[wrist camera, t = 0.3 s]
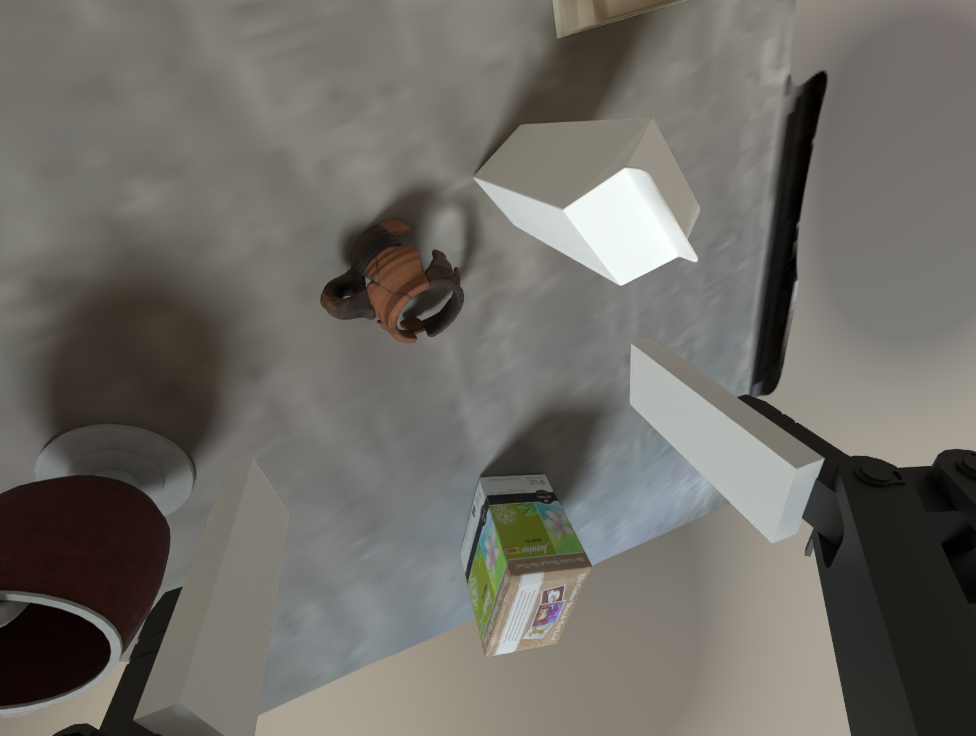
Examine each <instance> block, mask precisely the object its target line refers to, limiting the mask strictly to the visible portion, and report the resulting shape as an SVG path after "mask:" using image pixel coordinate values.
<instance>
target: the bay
mask: <svg viewBox="0 0 976 736" xmlns="http://www.w3.org/2000/svg"><path fill="white" fill-rule="evenodd" d="M683 1H687V0H552V2H553V10H554V18H555V26H556V34H557V39H558V38H562V37H565V36H568V35H572V34H575V33H579V32H582V31H585V30H589V29H592V28H595V27H599V26H602V25H606V24H609V23H612V22H616V21H619V20H623V19H626V18H629V17H633V16H636V15H639V14H643V13H646V12H650V11H653V10H656V9H660V8H663V7H667V6H670V5H673V4H677V3H680V2H683Z"/></svg>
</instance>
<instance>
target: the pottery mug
mask: <svg viewBox="0 0 976 736" xmlns="http://www.w3.org/2000/svg"><path fill="white" fill-rule="evenodd" d="M410 233H411V229H410V227H409V226H407V225H406V224H405V223H403V222H402V221H400V220H390V221H385V222H382V223H380V224H378V225H375V226H373V227H371V228H370V229H369V230H367V231H366V232H365V233H364V234H363V235H362V236H361V237H360V238H359V239H358V240H357V242H356V244H355V247H354V249H353V252H352V266H351V269H349V270H348V271H347V272H346V273H345V274H343V275H341V276H339V277H337V278H335V279H333V280H331V281H330V282H329V283H328V284H327V285H326V286H325V288H324V290H323V292H322V294H321V300H320V303H321V305H322V307H323V308H325V309H326V310H327V312H328V313H329V314H330V315H331V316H333V317H335V318H337V319H342V320H350V319H354V318H366V319H369V320H373V319H375V317H376V315H377V317H378V318H379V319H380V320H378V321H377V324H378V325H379V326H380V327H381V328H383V329H385V330H386V331H388V332H389V333H390V334H391V335H392V337H393V338H394V339H396V340H398V341H400V342H404V343H414V342H416V340H417V337H416V335H415V334H418V333H421V332H423V331H426V332H427V335H428V337H434V336H436V335H437V334H439V333H440V332H442V331H443V330H444V329H446V328H447V327H448V326H449V325H450V324H451V323H452V322H453V321H454V319H455V318H456V317H457V315H458V313H459V312H460V310H461V308H462V305H463V302H464V293H463V289H462V288H461V287H460V275H459V270H458V268H457V267H455V268H454V274H453V270H452V267H451V264H450V263H449V262H448V261H447V259H446V256H445V254H444V253H442V252H440V251H438V250H433V251H432V255H433V260H432V261H431V264H430V265H429V267H428V268H427V269H426V271H425V272H424V271H423V266H422V263H421V258H420V254H419V251H418V250H416V249H415V248H414V247H412V246H410V245H405V246H402V244H401V243H400V242H399V241H398V240H397V239H395V238H394V236H398V235H404V234H410ZM365 276H366V277H367V278H369V279H370V280H371V282H370V283H369V284H368V285H367V287H366V283H365ZM433 287H447V288H450V289H451V290H452V291H453V294H452V297H451V298H450V299H449V300H448V302H447V303H446V305H445V306H444V307H443V308H442V309H441V311H440V312H438V313H437V314H435V315H433V316H431V317H429V318H427V319H424V320H423V321H421V320H419V319H418V318H416V317H414V316H409V317H407V318H405V319H404V320H402V321H401V322H400V325H401V327H402V328H403V329H405V330H399V329H398V327H397V325H396V324H397V319H398V316H399V314H400V312H401V310H402V309H403V307H404V306H405V305H406V304H407V303H408V302H409V301H410V300H411V298H413V297H415V296H416V295H417V294H419V293H421V292H423V291H425V290H427V289H429V288H433ZM344 296H351V297H348V298H343V297H344ZM342 298H343V299H342Z"/></svg>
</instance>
